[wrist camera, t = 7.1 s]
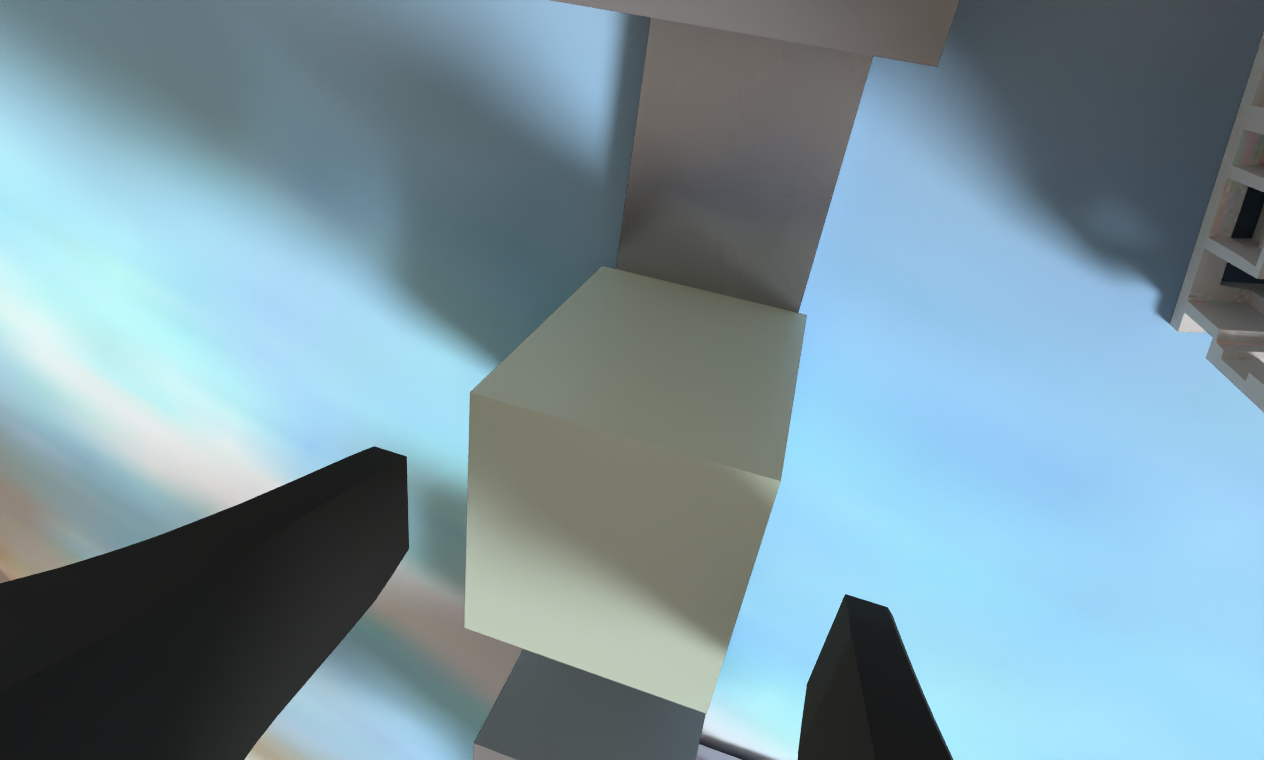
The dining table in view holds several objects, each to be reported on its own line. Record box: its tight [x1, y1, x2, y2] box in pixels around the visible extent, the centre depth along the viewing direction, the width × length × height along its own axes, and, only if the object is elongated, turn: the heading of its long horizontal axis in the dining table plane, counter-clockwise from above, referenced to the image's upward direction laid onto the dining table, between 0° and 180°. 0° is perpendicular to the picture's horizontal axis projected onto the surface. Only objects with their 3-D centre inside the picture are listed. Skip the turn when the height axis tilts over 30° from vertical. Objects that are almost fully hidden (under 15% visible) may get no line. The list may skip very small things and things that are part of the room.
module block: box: [464, 266, 807, 714], centre depth 13 cm, size 5×5×6 cm
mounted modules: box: [473, 0, 960, 760], centre depth 13 cm, size 22×5×5 cm, turn 172°
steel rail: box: [616, 18, 873, 313], centre depth 16 cm, size 24×4×1 cm, turn 172°
